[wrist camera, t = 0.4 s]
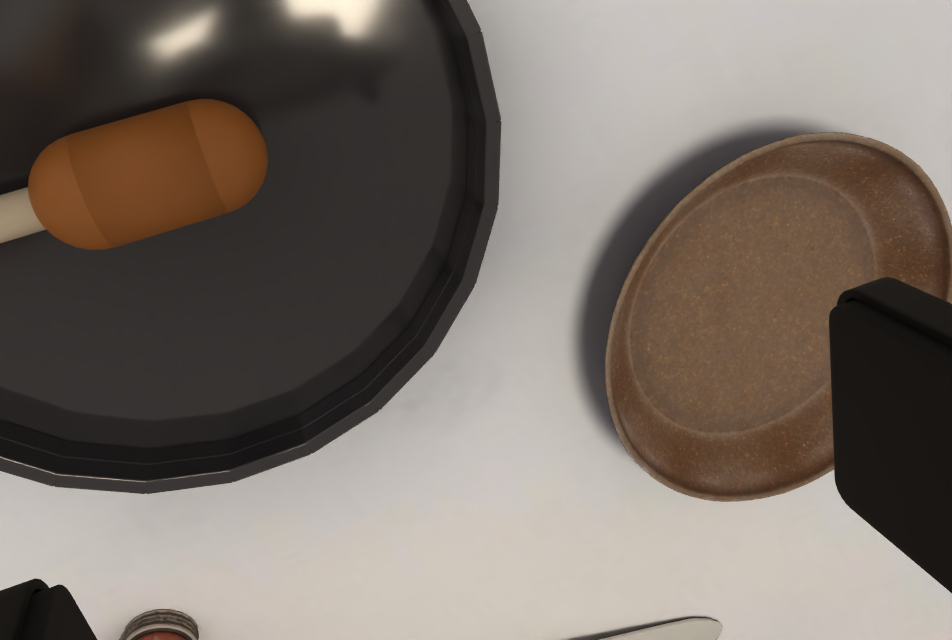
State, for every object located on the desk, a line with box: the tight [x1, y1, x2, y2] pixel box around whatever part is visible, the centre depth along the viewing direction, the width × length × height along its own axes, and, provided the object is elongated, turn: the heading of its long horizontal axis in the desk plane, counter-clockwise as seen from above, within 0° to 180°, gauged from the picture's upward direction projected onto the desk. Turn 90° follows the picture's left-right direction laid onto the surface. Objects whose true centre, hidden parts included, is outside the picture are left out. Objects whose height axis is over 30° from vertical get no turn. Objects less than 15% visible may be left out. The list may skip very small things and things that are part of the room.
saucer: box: [605, 132, 952, 502], centre depth 32 cm, size 15×15×3 cm
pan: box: [0, 0, 501, 494], centre depth 24 cm, size 20×20×2 cm
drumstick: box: [0, 99, 268, 250], centre depth 23 cm, size 10×3×3 cm, turn 104°
